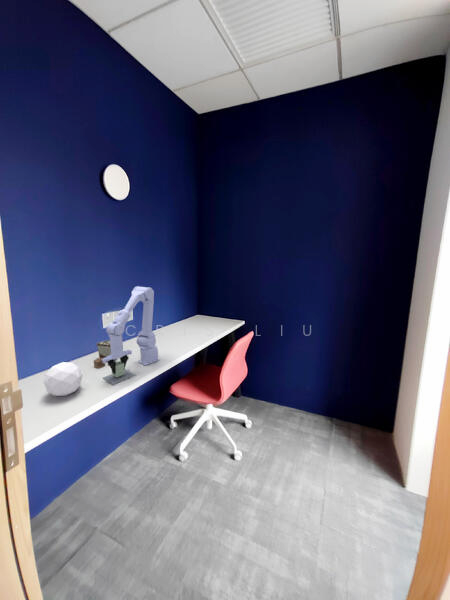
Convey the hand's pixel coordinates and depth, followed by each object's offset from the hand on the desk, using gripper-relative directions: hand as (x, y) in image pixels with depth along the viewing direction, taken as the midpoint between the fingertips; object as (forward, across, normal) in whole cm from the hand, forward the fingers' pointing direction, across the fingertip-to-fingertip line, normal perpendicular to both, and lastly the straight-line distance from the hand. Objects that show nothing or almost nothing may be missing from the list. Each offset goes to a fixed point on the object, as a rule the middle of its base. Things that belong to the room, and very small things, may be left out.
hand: (118, 371), depth 129 cm
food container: (+3, -8, -26) cm, 27 cm away
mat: (+3, 0, 0) cm, 3 cm away
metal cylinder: (+3, -5, -18) cm, 18 cm away
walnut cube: (+3, +1, -20) cm, 20 cm away
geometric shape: (+3, +23, -5) cm, 24 cm away
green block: (+2, 0, 0) cm, 2 cm away
